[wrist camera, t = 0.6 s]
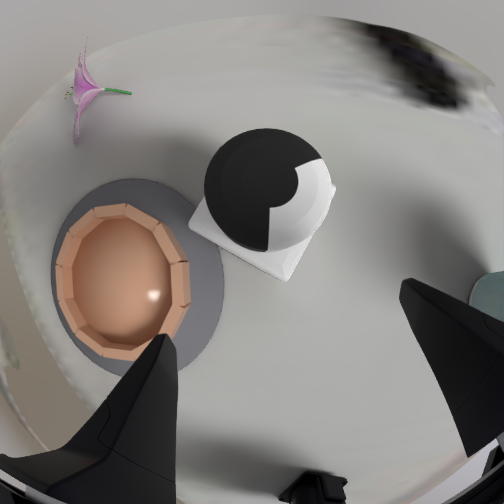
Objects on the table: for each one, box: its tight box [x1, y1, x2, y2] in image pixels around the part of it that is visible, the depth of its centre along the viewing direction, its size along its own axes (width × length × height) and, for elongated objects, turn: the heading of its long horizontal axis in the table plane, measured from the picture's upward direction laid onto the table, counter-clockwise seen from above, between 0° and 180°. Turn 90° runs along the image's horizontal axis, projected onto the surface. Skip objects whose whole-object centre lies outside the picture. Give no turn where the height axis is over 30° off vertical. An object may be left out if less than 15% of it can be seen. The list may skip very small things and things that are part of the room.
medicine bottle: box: [188, 128, 336, 282], centre depth 18 cm, size 7×7×12 cm
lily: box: [65, 41, 132, 146], centre depth 21 cm, size 12×12×10 cm
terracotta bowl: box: [55, 203, 191, 361], centre depth 23 cm, size 14×14×2 cm
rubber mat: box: [51, 179, 224, 377], centre depth 24 cm, size 20×20×1 cm
